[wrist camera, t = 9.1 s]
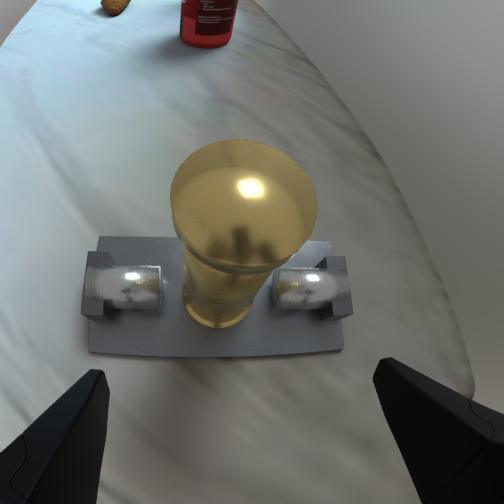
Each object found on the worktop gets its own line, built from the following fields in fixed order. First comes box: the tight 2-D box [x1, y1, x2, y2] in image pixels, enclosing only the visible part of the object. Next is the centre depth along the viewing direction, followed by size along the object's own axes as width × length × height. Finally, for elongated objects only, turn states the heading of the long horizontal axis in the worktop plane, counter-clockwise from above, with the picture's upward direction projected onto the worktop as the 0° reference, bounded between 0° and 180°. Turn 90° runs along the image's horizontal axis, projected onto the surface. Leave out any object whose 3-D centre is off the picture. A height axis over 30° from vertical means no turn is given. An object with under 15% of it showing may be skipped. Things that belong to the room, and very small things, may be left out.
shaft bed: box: [81, 236, 353, 357], centre depth 20 cm, size 19×9×3 cm, turn 93°
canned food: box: [180, 0, 238, 48], centre depth 31 cm, size 8×8×11 cm
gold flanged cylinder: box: [170, 140, 318, 330], centre depth 16 cm, size 5×5×13 cm
